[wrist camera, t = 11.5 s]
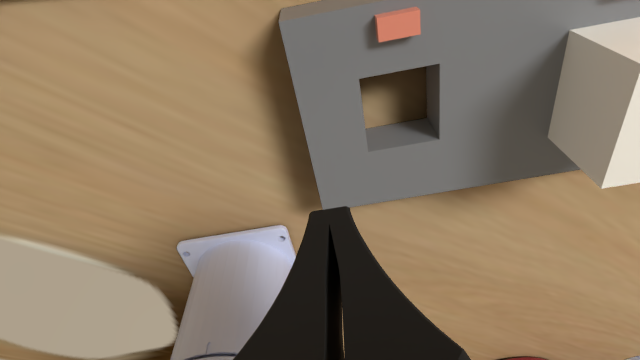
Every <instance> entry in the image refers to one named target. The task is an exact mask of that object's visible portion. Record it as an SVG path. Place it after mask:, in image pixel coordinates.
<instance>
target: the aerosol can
mask: <svg viewBox="0 0 640 360" xmlns="http://www.w3.org/2000/svg"><path fill="white" fill-rule="evenodd" d="M626 360H640V356H637V357H633V358H629V359H626Z"/></svg>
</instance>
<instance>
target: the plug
mask: <svg viewBox="0 0 640 360" xmlns="http://www.w3.org/2000/svg"><path fill="white" fill-rule="evenodd" d="M548 138H549V139H550V140H551V141H552V142H553V143H554V144H555V145H556V146H557V147H558V148H559V149H560V150H561V151H562V152H563V153H565V154H566V155H567V156H568V157H569V158H570V159H571V160H572V161H573V162H574V163H575V164H576V165H577V166H578V167H579V168H580V169H581V170H582V171H583V172H584V173H585V174H586V175H588V176H589V177H590V178H591V179H592V180H593V181H594V182H595V183H596V184H597V185H598V186H599V187H600V188H608V187H614V186H621V185H627V184H633V183H640V17H637V18H632V19H626V20H621V21H615V22H610V23H605V24H599V25H594V26H589V27H583V28H578V29H573V30H570V31H569V36H568V41H567V45H566V50H565V55H564V60H563V65H562V70H561V75H560V79H559V84H558V89H557V94H556V99H555V104H554V109H553V113H552V118H551V123H550V128H549V133H548Z"/></svg>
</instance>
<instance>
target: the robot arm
mask: <svg viewBox="0 0 640 360" xmlns="http://www.w3.org/2000/svg"><path fill="white" fill-rule="evenodd" d="M280 236H283V238H282V237H280ZM177 251H178V252H179V254H180V256H181V257H182V259H183V261H184V263H185V264H186V266H187V268H188V269H189V271H190V273H191V274H192V276H193V278H194V279H193V283H192V286H191V290H190V293H189V297H188V300H187V304H186V307H185V310H184V314H183V317H182V321H181V324H180V328H179V331H178V335H177V338H176V342H175V345H174V349H173V352H172V356H171V359H170V360H471V359H470V358H469V356H468V355H467V353H466V352H465V351H464V349H463V348H461V347H460V346H459V345H458V344H457V343H455V342H454V341H453V340H452V339H450V338H449V337H448V336H447V335H446V334H444V333H443V332H442V331H441V330H440V329H439V328H437V327H436V326H435V325H434V324H433V323H432V322H431V321H430V320H429V319H428V318H426V317H425V316H424V315H423V314H422V313H421V312H420V311H419V310H418V309H417V308H416V307H415V306H414V305H413V304H412V303H411V302H410V301H409V300H408V299H407V297H406V296H405V295H404V294H403V293H402V292H401V291H400V290H399V288H398V287H397V286H396V285H395V284H394V283H393V281H392V280H391V279H390V278H389V277H388V275H387V274H386V273H385V271H384V270H383V269H382V267H381V266H380V265H379V263H378V262H377V260H376V259H375V258H374V256H373V255H372V253H371V251H370V250H369V248H368V247H367V245H366V243H365V242H364V240H363V238H362V237H361V235H360V233H359V231H358V229H357V227H356V225H355V223H354V220H353V218H352V215H351V212H350V208H349V207H347V206H343V207H337V208H331V209H325V210H319V211H312V212H311V213H310V214H309V219H308V223H307V227H306V230H305V234H304V237H303V240H302V243H301V245H300V248H299V251H298V253H297V256H296V255H295V252H294V248H293V245H292V242H291V239H290V236H289V233H288V230H287V228H286V227H285V226H283V225H277V226H271V227H264V228H258V229H252V230H246V231H240V232H234V233H228V234H222V235H215V236H209V237H203V238H197V239H191V240H185V241H180V242H179V243H178V245H177ZM187 252H189V253H187ZM342 311H343V329H344V349H343V335H342ZM344 351H345V358H344Z"/></svg>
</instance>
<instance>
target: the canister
mask: <svg viewBox="0 0 640 360" xmlns="http://www.w3.org/2000/svg"><path fill="white" fill-rule="evenodd" d="M504 360H547V359H542V358H535V357H519V358H510V359H504Z"/></svg>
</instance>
